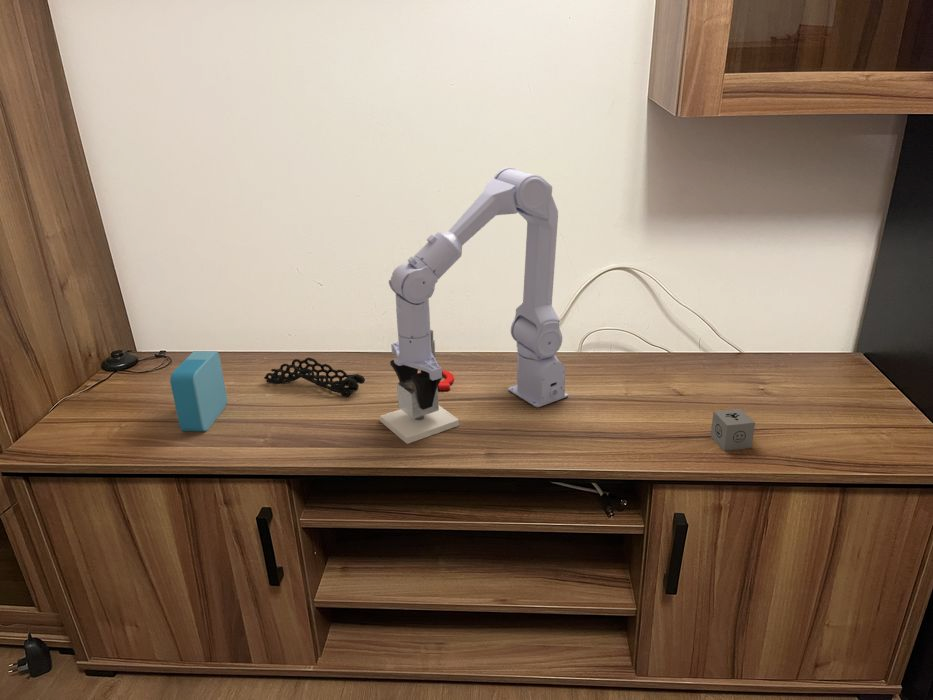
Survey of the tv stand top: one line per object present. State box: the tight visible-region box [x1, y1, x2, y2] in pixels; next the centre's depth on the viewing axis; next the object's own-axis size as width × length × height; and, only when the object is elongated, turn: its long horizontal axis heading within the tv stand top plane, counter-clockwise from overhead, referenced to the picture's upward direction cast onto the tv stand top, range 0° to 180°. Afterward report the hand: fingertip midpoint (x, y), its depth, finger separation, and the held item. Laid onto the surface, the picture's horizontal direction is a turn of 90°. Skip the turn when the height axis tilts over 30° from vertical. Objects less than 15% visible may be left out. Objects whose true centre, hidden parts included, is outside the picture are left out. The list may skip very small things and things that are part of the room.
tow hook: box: [417, 329, 455, 392], centre depth 147 cm, size 8×13×9 cm
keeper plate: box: [379, 405, 460, 445], centre depth 132 cm, size 10×11×6 cm
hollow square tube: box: [396, 379, 440, 419], centre depth 131 cm, size 5×5×5 cm
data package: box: [169, 350, 228, 432], centre depth 135 cm, size 12×4×12 cm, turn 177°
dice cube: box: [710, 408, 756, 452], centre depth 124 cm, size 5×5×5 cm
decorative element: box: [263, 357, 366, 399], centre depth 147 cm, size 22×5×6 cm, turn 71°
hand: (418, 401), depth 131 cm, fingers closed on hollow square tube, 5 cm apart
